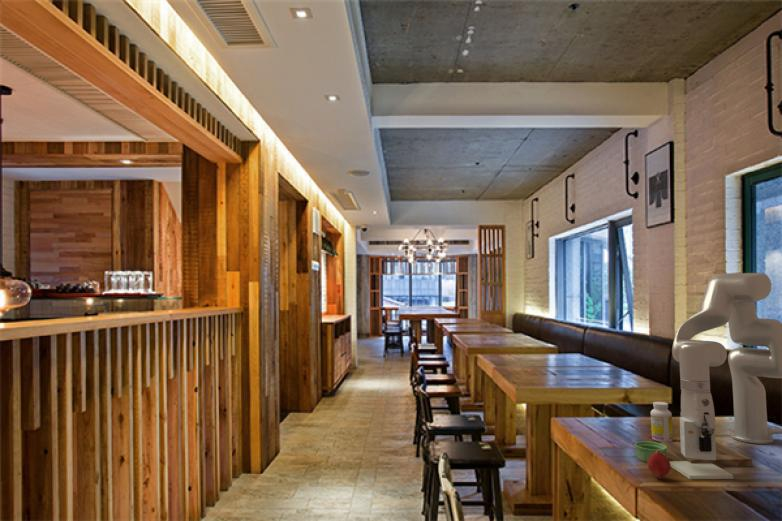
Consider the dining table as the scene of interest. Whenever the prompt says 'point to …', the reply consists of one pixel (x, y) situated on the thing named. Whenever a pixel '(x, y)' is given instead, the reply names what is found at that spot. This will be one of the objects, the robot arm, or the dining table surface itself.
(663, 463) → the onion
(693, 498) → the dining table surface
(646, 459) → the ramekin
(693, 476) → the cream square tile
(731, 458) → the holder block
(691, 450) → the small box
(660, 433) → the supplement bottle
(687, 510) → the dining table surface
